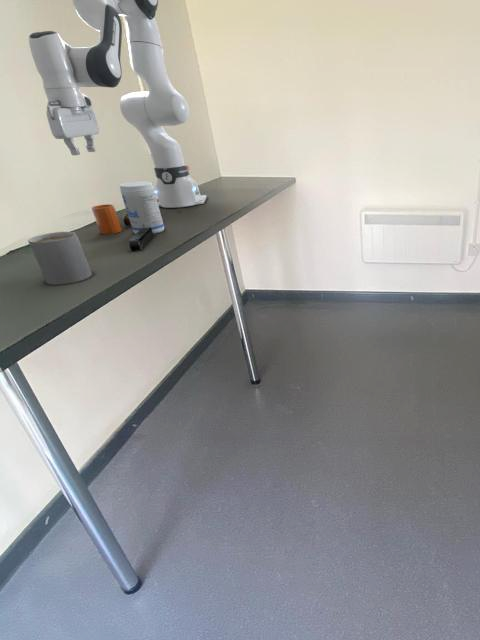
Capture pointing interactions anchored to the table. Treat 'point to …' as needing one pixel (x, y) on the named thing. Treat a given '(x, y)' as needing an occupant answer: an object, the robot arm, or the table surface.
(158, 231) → the supplement tub
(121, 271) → the table surface
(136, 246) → the black bar
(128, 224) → the sunglasses case
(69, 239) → the coffee mug
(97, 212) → the cup
